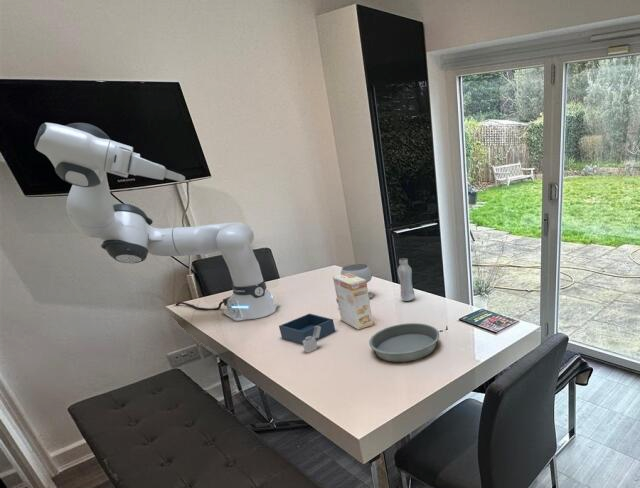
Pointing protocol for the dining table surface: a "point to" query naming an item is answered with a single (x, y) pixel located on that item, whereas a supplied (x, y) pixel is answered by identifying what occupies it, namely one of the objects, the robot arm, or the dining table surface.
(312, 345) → the lighter
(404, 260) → the plastic bottle
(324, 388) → the dining table surface
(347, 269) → the chalice
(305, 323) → the basket
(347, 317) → the coffeecake box
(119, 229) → the robot arm
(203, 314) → the dining table surface
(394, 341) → the cake pan
